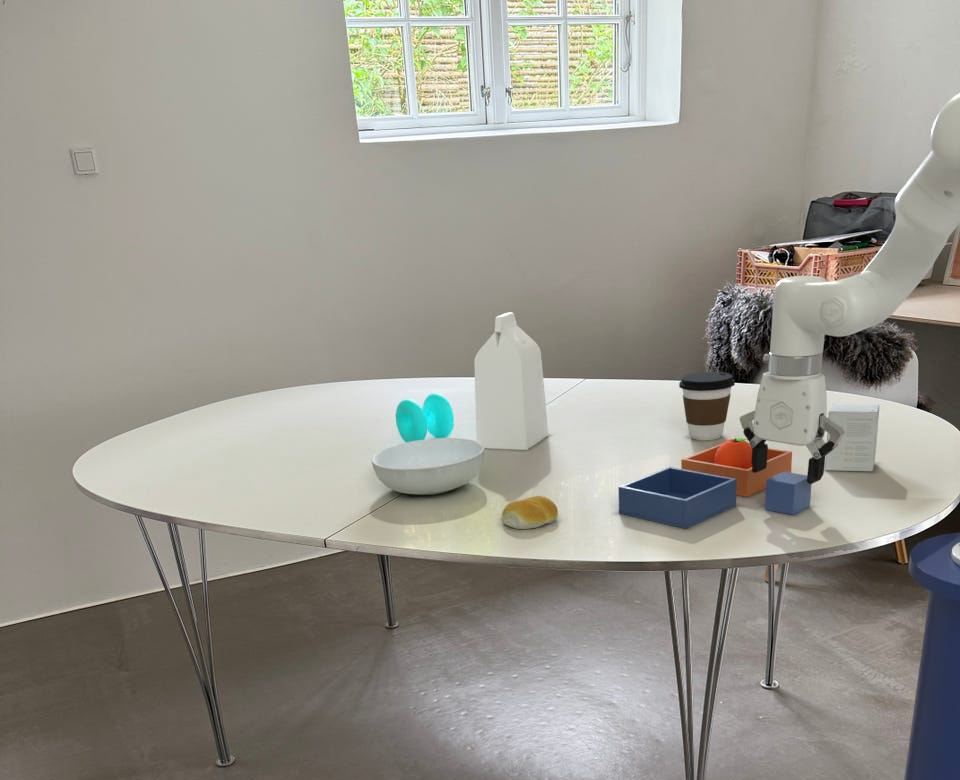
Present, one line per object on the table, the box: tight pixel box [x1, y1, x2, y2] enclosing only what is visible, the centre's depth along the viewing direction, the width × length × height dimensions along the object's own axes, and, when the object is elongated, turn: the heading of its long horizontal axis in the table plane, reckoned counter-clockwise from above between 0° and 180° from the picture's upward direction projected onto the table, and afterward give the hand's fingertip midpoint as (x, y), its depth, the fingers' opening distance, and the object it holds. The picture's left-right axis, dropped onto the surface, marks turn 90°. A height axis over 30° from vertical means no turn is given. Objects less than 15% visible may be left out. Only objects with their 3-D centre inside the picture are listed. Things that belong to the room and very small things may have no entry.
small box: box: [824, 403, 880, 472], centre depth 165 cm, size 8×6×10 cm
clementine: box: [714, 437, 752, 469], centre depth 164 cm, size 8×7×7 cm
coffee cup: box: [678, 371, 736, 441], centre depth 191 cm, size 11×11×12 cm
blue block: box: [764, 472, 812, 516], centre depth 150 cm, size 5×5×5 cm
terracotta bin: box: [680, 442, 793, 498], centre depth 165 cm, size 13×13×4 cm
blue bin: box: [618, 466, 737, 529], centre depth 154 cm, size 13×13×4 cm
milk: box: [473, 312, 549, 451], centre depth 197 cm, size 12×12×26 cm
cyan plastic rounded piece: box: [395, 392, 455, 443], centre depth 207 cm, size 10×10×10 cm
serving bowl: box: [371, 437, 486, 496], centre depth 176 cm, size 21×21×7 cm
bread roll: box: [501, 495, 559, 530], centre depth 155 cm, size 8×9×4 cm
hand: (785, 476), depth 149 cm, fingers open, 9 cm apart
